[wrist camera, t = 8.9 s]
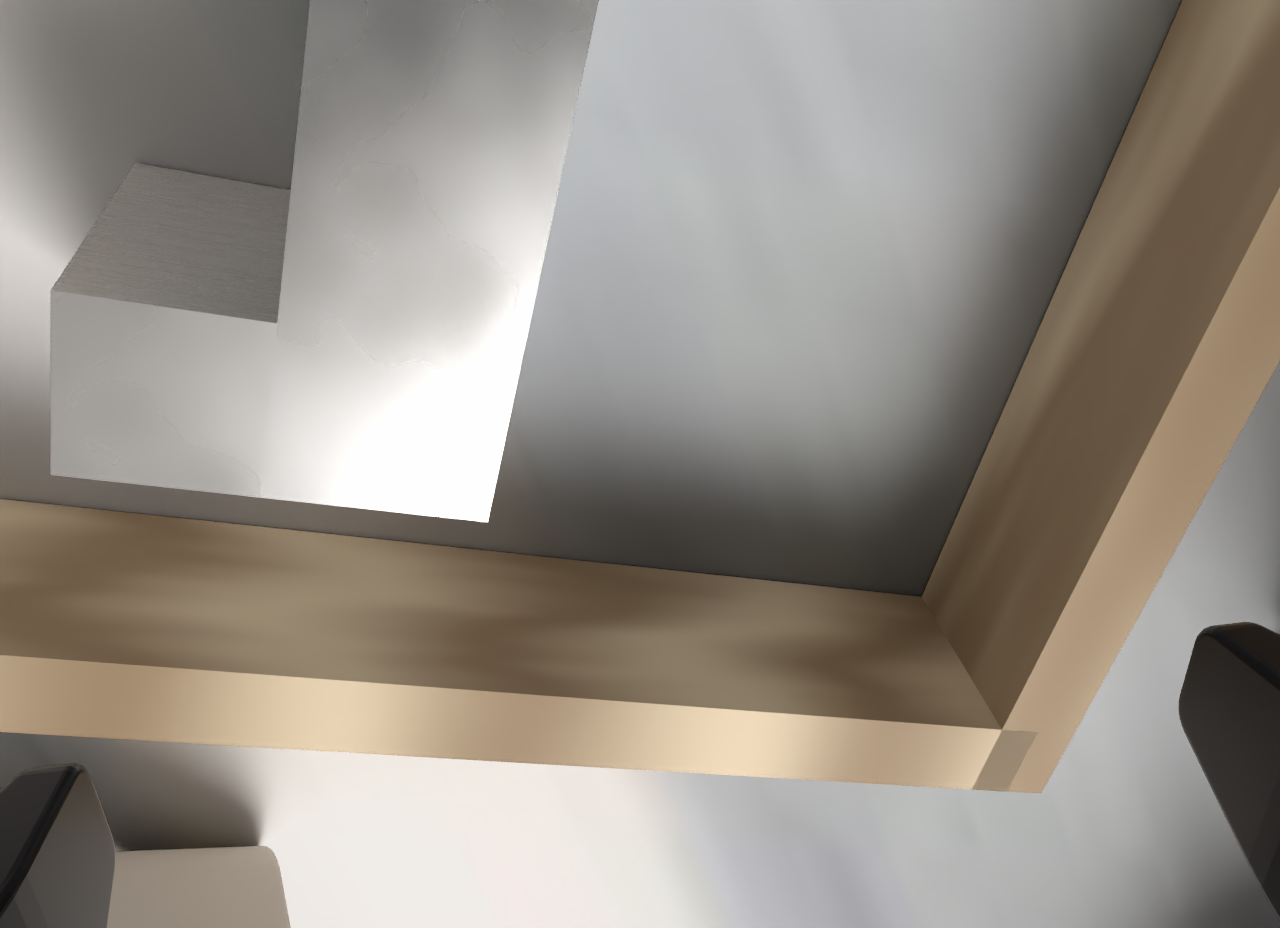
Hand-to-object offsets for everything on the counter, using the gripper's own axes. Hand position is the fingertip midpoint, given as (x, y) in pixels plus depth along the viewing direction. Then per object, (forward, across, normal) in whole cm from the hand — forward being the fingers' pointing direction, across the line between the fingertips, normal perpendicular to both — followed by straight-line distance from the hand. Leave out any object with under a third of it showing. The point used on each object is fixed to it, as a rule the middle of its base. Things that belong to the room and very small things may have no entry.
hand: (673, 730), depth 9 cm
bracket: (+12, +3, -3) cm, 12 cm away
